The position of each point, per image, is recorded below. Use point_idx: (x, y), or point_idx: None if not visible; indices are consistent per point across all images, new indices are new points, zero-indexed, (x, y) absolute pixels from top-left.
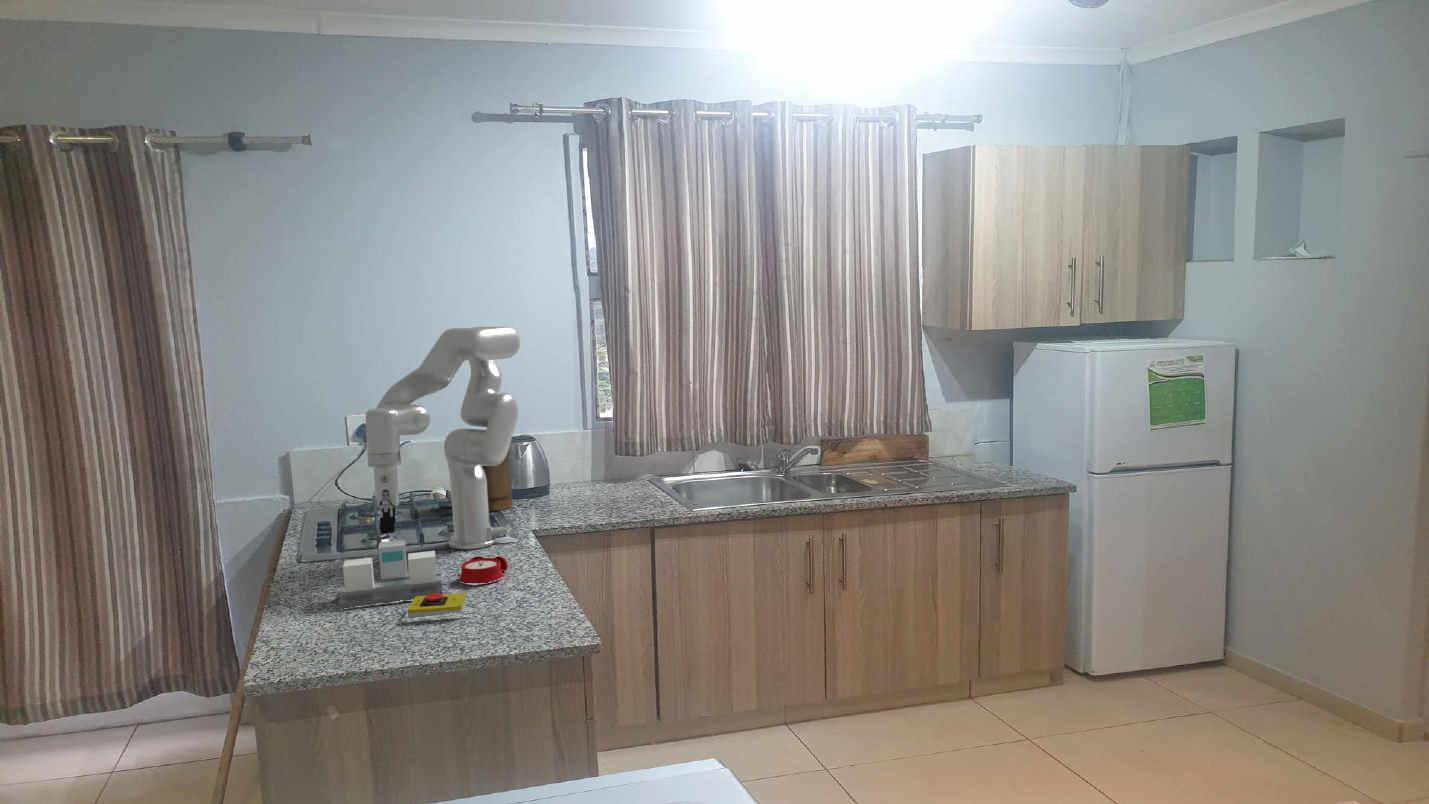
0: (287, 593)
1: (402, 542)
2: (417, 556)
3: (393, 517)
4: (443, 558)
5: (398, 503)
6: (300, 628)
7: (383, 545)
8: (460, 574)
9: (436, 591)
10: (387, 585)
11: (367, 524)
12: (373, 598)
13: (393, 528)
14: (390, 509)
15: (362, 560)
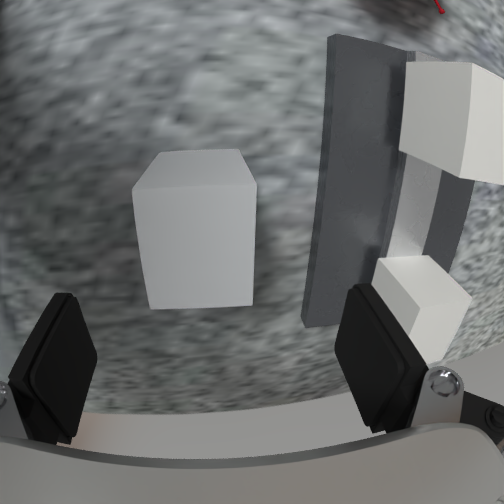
0: (257, 401)
1: (189, 198)
2: (501, 148)
3: (421, 358)
4: (54, 38)
5: (431, 449)
6: (455, 336)
7: (214, 289)
8: (438, 3)
9: None
10: (424, 220)
11: None
12: (451, 246)
13: (378, 302)
14: (496, 417)
15: (427, 329)
